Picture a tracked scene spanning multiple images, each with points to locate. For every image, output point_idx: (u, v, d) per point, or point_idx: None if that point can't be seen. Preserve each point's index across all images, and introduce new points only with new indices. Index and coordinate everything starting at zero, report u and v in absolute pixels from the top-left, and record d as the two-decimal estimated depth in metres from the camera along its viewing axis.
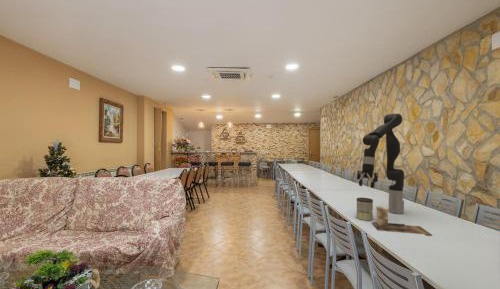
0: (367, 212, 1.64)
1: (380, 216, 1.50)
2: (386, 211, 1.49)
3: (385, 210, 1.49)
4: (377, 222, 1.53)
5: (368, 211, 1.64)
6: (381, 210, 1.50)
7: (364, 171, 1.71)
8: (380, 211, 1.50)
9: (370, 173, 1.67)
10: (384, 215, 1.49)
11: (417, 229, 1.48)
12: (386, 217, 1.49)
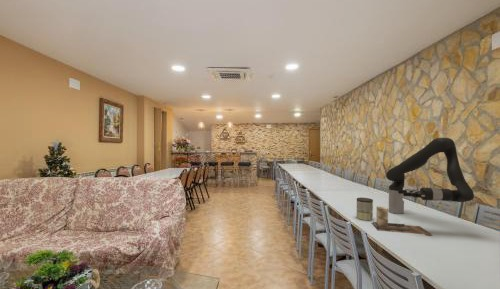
0: (367, 212, 1.64)
1: (380, 216, 1.50)
2: (386, 211, 1.49)
3: (385, 210, 1.49)
4: (377, 222, 1.53)
5: (368, 211, 1.64)
6: (381, 210, 1.50)
7: None
8: (380, 211, 1.50)
9: None
10: (384, 215, 1.49)
11: (417, 229, 1.48)
12: (386, 217, 1.49)
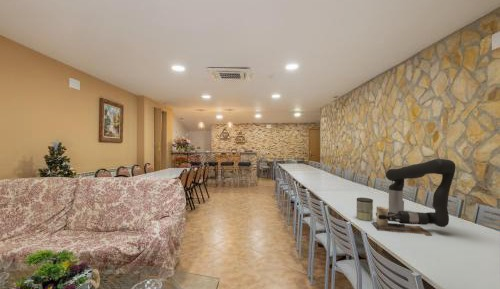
0: (367, 212, 1.64)
1: None
2: (386, 211, 1.49)
3: (385, 210, 1.49)
4: (377, 222, 1.53)
5: (368, 211, 1.64)
6: (381, 210, 1.50)
7: None
8: (380, 211, 1.50)
9: None
10: None
11: (417, 229, 1.48)
12: None
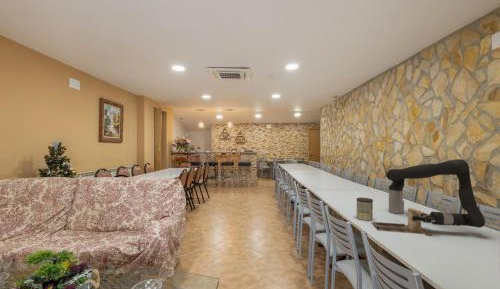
0: (367, 212, 1.64)
1: None
2: (419, 213, 1.45)
3: (418, 212, 1.45)
4: (409, 224, 1.49)
5: (368, 211, 1.64)
6: (414, 212, 1.46)
7: None
8: (413, 213, 1.46)
9: None
10: None
11: None
12: None
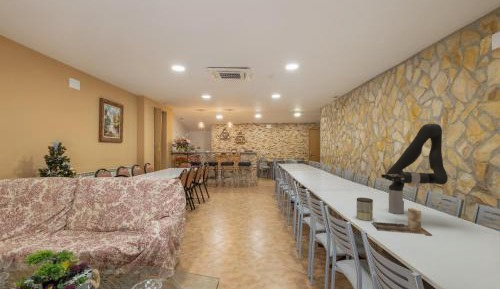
0: (367, 212, 1.64)
1: (413, 218, 1.46)
2: (419, 213, 1.45)
3: (418, 212, 1.45)
4: (409, 224, 1.49)
5: (368, 211, 1.64)
6: (414, 212, 1.46)
7: None
8: (413, 213, 1.46)
9: None
10: (417, 217, 1.46)
11: None
12: (419, 219, 1.45)
